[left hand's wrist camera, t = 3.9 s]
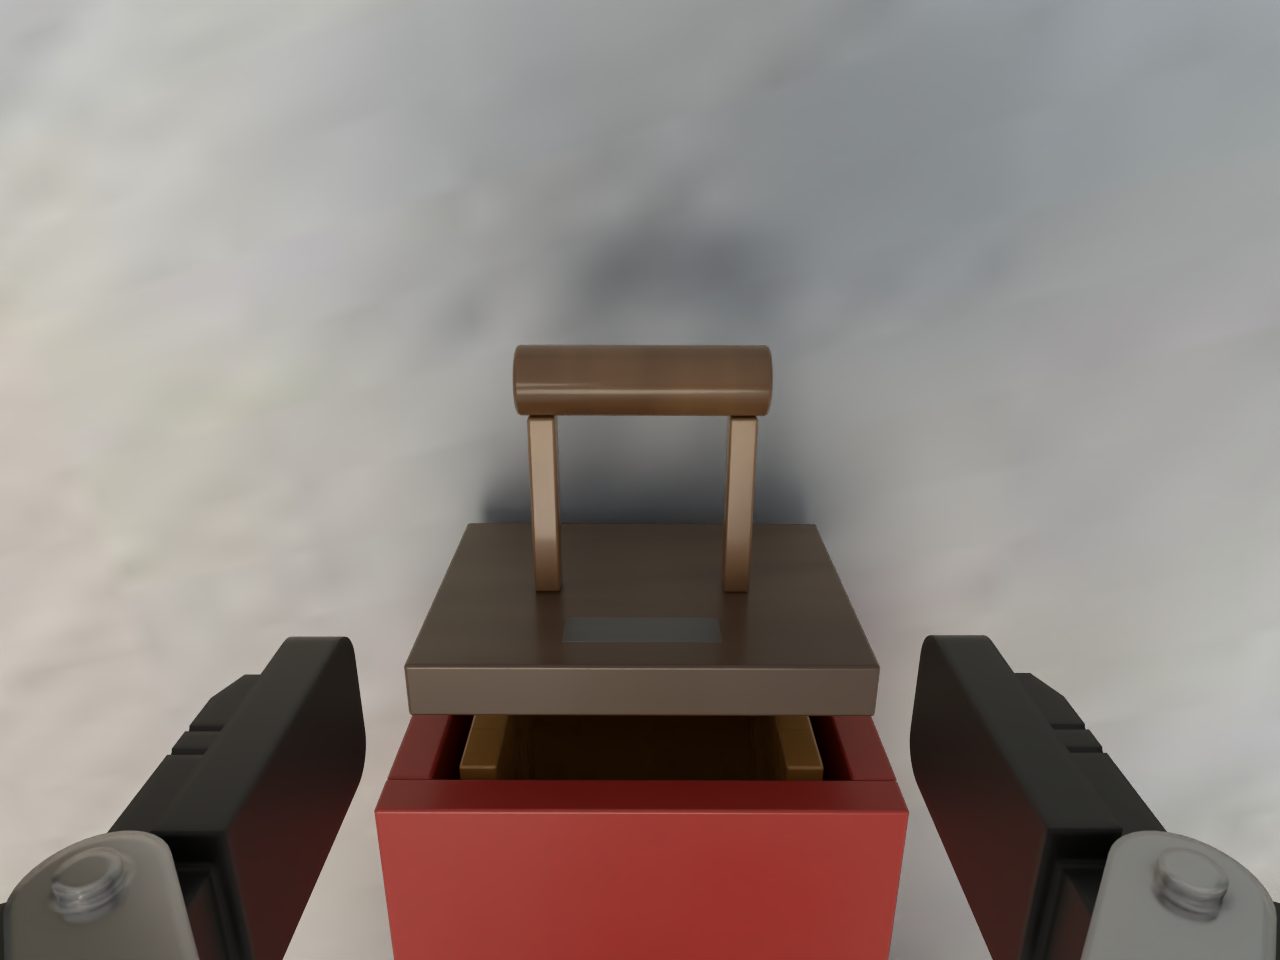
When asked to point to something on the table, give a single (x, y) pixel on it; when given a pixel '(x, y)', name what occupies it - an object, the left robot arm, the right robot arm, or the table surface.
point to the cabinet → (641, 858)
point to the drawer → (642, 604)
